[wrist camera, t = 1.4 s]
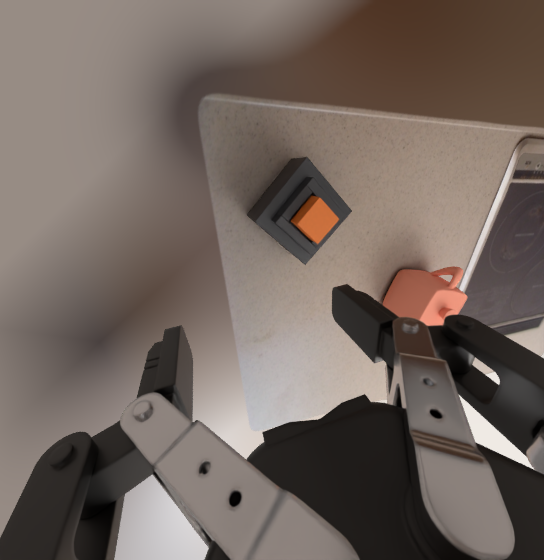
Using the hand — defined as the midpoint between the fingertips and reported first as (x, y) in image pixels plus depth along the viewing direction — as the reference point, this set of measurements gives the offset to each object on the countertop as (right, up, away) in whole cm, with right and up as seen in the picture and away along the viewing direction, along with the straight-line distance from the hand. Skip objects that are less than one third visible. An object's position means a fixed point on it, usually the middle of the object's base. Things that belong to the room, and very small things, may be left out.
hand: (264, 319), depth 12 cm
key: (+5, +10, +18) cm, 21 cm away
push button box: (+4, +13, +24) cm, 27 cm away
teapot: (+29, -1, +39) cm, 48 cm away
